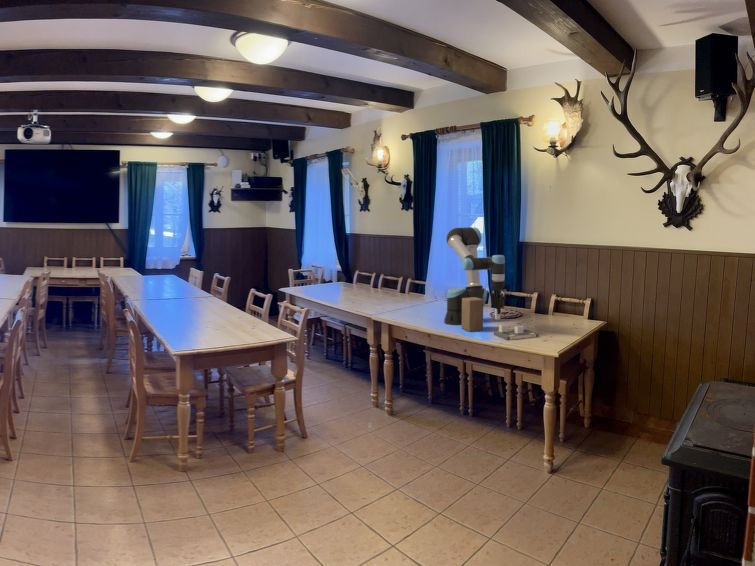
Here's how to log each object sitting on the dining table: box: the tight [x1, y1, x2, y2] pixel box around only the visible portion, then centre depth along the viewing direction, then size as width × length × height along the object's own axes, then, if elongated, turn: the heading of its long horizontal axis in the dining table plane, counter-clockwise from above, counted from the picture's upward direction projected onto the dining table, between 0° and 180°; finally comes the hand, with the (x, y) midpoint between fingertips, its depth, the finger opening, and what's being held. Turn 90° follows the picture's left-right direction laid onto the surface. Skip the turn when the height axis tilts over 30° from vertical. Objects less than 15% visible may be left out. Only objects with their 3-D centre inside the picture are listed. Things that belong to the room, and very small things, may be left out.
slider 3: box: [518, 322, 528, 330], centre depth 313 cm, size 3×4×4 cm
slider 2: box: [514, 325, 523, 334], centre depth 305 cm, size 3×4×4 cm
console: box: [493, 328, 539, 341], centre depth 309 cm, size 14×22×2 cm, turn 110°
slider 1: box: [498, 324, 509, 333], centre depth 309 cm, size 3×4×4 cm
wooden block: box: [461, 297, 484, 333], centre depth 324 cm, size 10×10×20 cm
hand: (497, 318), depth 314 cm, fingers closed
